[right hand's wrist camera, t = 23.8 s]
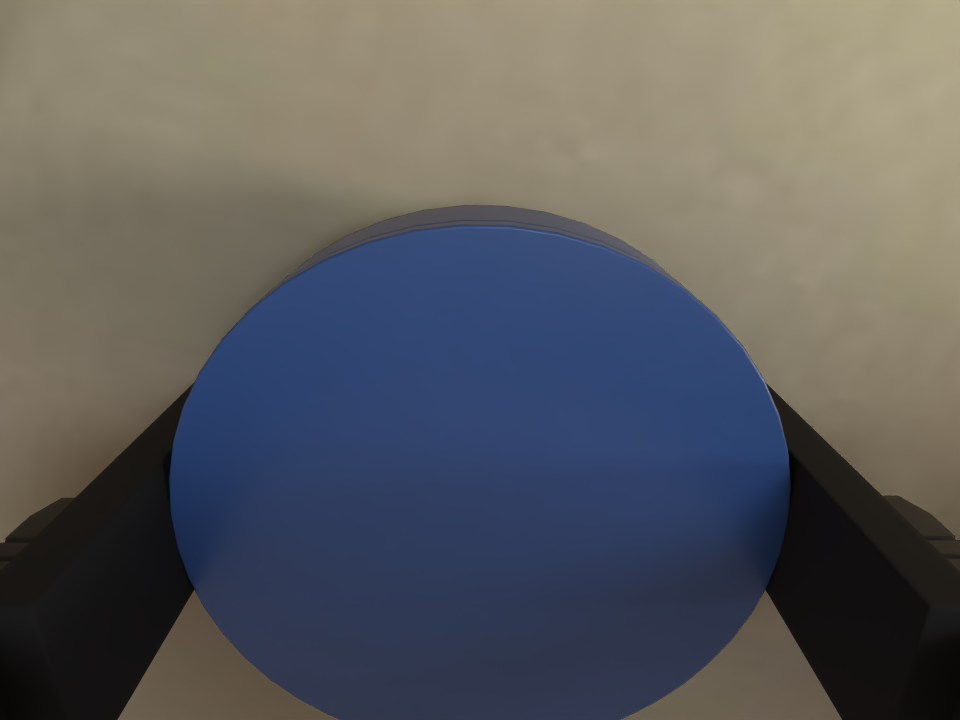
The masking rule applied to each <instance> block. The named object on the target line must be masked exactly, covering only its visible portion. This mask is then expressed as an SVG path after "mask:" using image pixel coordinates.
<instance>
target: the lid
mask: <svg viewBox="0 0 960 720" xmlns="http://www.w3.org/2000/svg"><path fill="white" fill-rule="evenodd" d="M169 489H170V512H171V517H172V522H173V526H174V531H175V536H176V540H177V545H178V549H179V553H180V555H181V558H182V561H183V564H184V567H185V569H186V572H187V575H188V578H189V580H190V581H191V583H192V585H193V587H194V589H195V591H196V593H197V595H198V597H199V599H200V600H201V602H202V604H203V606H204V608H205V609H206V611H207V612H208V613H209V615H210V616H211V618H212V619H213V620H214V622H215V623H216V625H217V626H218V627H219V629H220V630H221V632H222V633H223V634H224V635H225V636H226V638H227V639H228V640H229V641H230V642H231V643H232V644H233V645H234V646H235V647H236V648H237V649H238V651H239V652H240V653H241V654H242V655H243V656H244V657H245V658H246V659H247V660H248V661H249V662H251V663H252V664H253V665H254V666H255V667H256V668H258V669H259V670H260V671H261V672H262V673H263V674H265V675H266V676H267V677H268V678H269V679H270V680H272V681H273V682H275V683H276V684H278V685H279V686H281V687H282V688H283V689H285V690H286V691H288V692H289V693H291V694H292V695H294V696H295V697H297V698H298V699H300V700H302V701H304V702H306V703H307V704H309V705H311V706H313V707H315V708H317V709H319V710H321V711H322V712H324V713H326V714H328V715H330V716H333V717H335V718H338V719H340V720H620V719H623V718H625V717H627V716H629V715H631V714H633V713H635V712H637V711H639V710H641V709H643V708H645V707H647V706H649V705H651V704H653V703H655V702H656V701H658V700H659V699H661V698H663V697H664V696H666V695H667V694H669V693H670V692H672V691H673V690H675V689H677V688H678V687H680V686H681V685H683V684H684V683H685V682H686V681H688V680H689V679H690V678H691V677H693V676H694V675H695V674H696V673H698V672H699V671H700V670H701V669H702V668H704V667H705V666H706V665H707V664H709V663H710V662H711V661H712V659H713V658H714V657H715V656H716V655H717V654H718V653H719V652H720V651H721V650H722V649H723V648H724V647H725V646H726V645H727V644H728V643H729V642H730V641H731V640H732V639H733V637H734V636H735V635H736V633H737V632H738V631H739V629H740V628H741V627H742V626H743V624H744V623H745V622H746V620H747V619H748V618H749V616H750V615H751V614H752V612H753V610H754V608H755V607H756V605H757V603H758V601H759V600H760V598H761V596H762V594H763V593H764V591H765V589H766V587H767V586H768V584H769V581H770V579H771V576H772V574H773V571H774V568H775V566H776V563H777V561H778V558H779V556H780V552H781V548H782V543H783V539H784V534H785V530H786V525H787V521H788V515H789V504H790V491H791V481H790V469H789V456H788V448H787V444H786V440H785V436H784V432H783V428H782V424H781V420H780V416H779V413H778V410H777V408H776V406H775V403H774V401H773V399H772V396H771V394H770V392H769V389H768V387H767V385H766V382H765V380H764V378H763V377H762V375H761V374H760V372H759V370H758V369H757V367H756V366H755V364H754V362H753V361H752V359H751V358H750V356H749V354H748V353H747V351H746V350H745V348H744V347H743V345H742V344H741V343H740V342H739V341H738V340H737V338H736V337H735V336H734V335H733V334H732V333H731V332H730V330H729V329H728V328H727V327H726V326H725V325H724V324H723V322H722V321H721V320H720V319H719V318H718V317H717V316H716V315H715V314H714V313H713V312H712V311H711V310H710V309H709V308H707V307H706V306H705V305H704V304H703V303H702V302H701V301H700V300H698V299H697V298H696V297H695V296H694V295H693V294H692V293H691V292H689V291H688V290H687V289H686V288H685V287H684V286H683V285H682V284H680V283H679V282H678V281H677V280H676V279H675V278H673V277H672V276H671V275H670V274H669V273H667V272H666V271H665V270H664V269H663V268H662V267H660V266H659V265H658V264H657V263H656V262H654V261H653V260H652V259H651V258H649V257H647V256H646V255H644V254H643V253H641V252H639V251H638V250H636V249H635V248H633V247H631V246H630V245H628V244H627V243H625V242H623V241H622V240H620V239H618V238H616V237H614V236H611V235H609V234H607V233H605V232H602V231H600V230H598V229H596V228H594V227H591V226H589V225H587V224H585V223H582V222H578V221H575V220H571V219H568V218H564V217H561V216H557V215H554V214H551V213H547V212H542V211H536V210H529V209H522V208H516V207H509V206H477V205H462V206H454V207H446V208H437V209H429V210H422V211H418V212H414V213H410V214H407V215H403V216H399V217H395V218H391V219H387V220H384V221H381V222H379V223H376V224H374V225H372V226H369V227H367V228H364V229H362V230H359V231H357V232H355V233H352V234H350V235H347V236H346V237H344V238H342V239H341V240H339V241H337V242H335V243H334V244H332V245H330V246H329V247H327V248H325V249H323V250H322V251H320V252H318V253H317V254H315V255H313V256H312V257H311V258H310V259H308V260H307V261H306V262H305V263H303V264H302V265H301V266H300V267H298V268H297V269H296V270H295V271H293V272H292V273H291V274H290V275H288V276H287V277H286V278H285V279H283V280H282V281H281V282H280V283H279V284H278V285H277V286H276V287H274V288H273V289H272V290H271V291H270V292H269V293H268V294H267V295H265V296H264V297H263V298H262V299H261V300H260V301H259V302H258V303H256V304H255V305H254V306H253V307H252V308H251V309H250V310H249V311H248V312H247V313H246V314H245V315H244V316H243V317H242V318H241V319H240V320H239V322H238V323H237V324H236V325H235V326H234V327H233V328H232V329H231V330H230V331H229V332H228V333H227V334H226V335H225V337H224V338H223V339H222V340H221V341H220V343H219V344H218V346H217V347H216V349H215V350H214V352H213V353H212V355H211V356H210V358H209V359H208V360H207V362H206V363H205V365H204V366H203V368H202V369H201V371H200V372H199V374H198V377H197V379H196V381H195V383H194V385H193V387H192V389H191V391H190V394H189V396H188V398H187V400H186V402H185V404H184V406H183V410H182V413H181V417H180V420H179V424H178V427H177V431H176V434H175V438H174V441H173V448H172V457H171V465H170V474H169Z"/></svg>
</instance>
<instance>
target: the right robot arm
mask: <svg viewBox="0 0 960 720" xmlns="http://www.w3.org/2000/svg"><path fill="white" fill-rule="evenodd" d="M194 383H195V382H194ZM194 383H193V384H192V385H191V386H190V387H189V388H188V389H187V390H186V391H185V392H184V393H183V394H182V395H181V396H180V397H179V398H178V399H177V400H176V401H175V402H174V403H173V404H172V405H171V406H170V407H169V408H168V409H167V410H166V411H164V412H163V413H162V414H161V415H160V416H159V417H158V418H157V419H156V420H155V421H154V422H153V423H152V424H151V425H150V426H149V427H148V428H147V429H146V430H145V431H144V432H143V433H142V434H141V435H140V436H139V437H138V438H137V439H136V440H135V441H134V442H133V443H132V444H130V445H129V446H128V447H127V448H126V449H125V450H124V451H123V452H122V453H121V454H120V455H119V456H118V457H117V458H116V459H115V460H114V461H113V462H112V463H111V464H110V465H109V466H108V467H107V468H106V469H105V470H104V471H103V472H102V473H101V474H100V475H99V476H98V477H96V478H95V479H94V480H93V481H92V482H91V483H90V484H89V485H88V486H87V487H86V488H85V489H84V490H83V491H82V492H81V493H80V494H79V495H78V496H77V497H76V498H61V499H59V500H58V501H56V502H54V503H52V504H51V505H49V506H47V507H45V508H44V509H42V510H40V511H38V512H36V513H35V514H33V515H31V516H29V517H28V518H27V519H26V520H25V521H24V522H23V523H22V524H21V525H20V526H18V527H17V528H16V529H15V530H14V531H13V532H12V533H11V534H10V535H9V536H8V537H6V538H5V539H6V541H5V543H0V720H117V719H118V718H119V716H120V714H121V713H122V711H123V709H124V708H125V706H126V704H127V703H128V701H129V699H130V697H131V696H132V694H133V692H134V691H135V689H136V687H137V686H138V684H139V682H140V680H141V679H142V677H143V675H144V674H145V672H146V670H147V669H148V667H149V665H150V664H151V662H152V660H153V658H154V657H155V655H156V653H157V652H158V650H159V648H160V647H161V645H162V643H163V641H164V640H165V638H166V636H167V635H168V633H169V631H170V630H171V628H172V626H173V625H174V623H175V621H176V619H177V618H178V616H179V614H180V613H181V611H182V609H183V608H184V606H185V604H186V603H187V601H188V599H189V597H190V596H191V594H192V592H193V591H194V587H193V585H192V583H191V581H190V580H189V578H188V575H187V572H186V569H185V567H184V564H183V561H182V558H181V555H180V553H179V549H178V545H177V540H176V536H175V531H174V526H173V522H172V517H171V512H170V489H169V474H170V465H171V457H172V448H173V441H174V438H175V434H176V431H177V427H178V424H179V420H180V417H181V413H182V410H183V406H184V404H185V402H186V400H187V398H188V396H189V394H190V391H191V389H192V387H193V385H194ZM766 385H767V384H766ZM767 387H768V389H769V392H770V394H771V396H772V399H773V401H774V403H775V406H776V408H777V410H778V413H779V416H780V420H781V424H782V428H783V432H784V436H785V440H786V444H787V448H788V456H789V469H790V481H791V491H790V504H789V515H788V521H787V525H786V530H785V534H784V539H783V543H782V548H781V552H780V556H779V558H778V561H777V563H776V566H775V568H774V571H773V574H772V576H771V579H770V581H769V584H768V586H767V587H766V591H767V593H768V595H769V596H770V598H771V600H772V601H773V603H774V605H775V606H776V608H777V610H778V611H779V613H780V615H781V617H782V618H783V620H784V622H785V623H786V625H787V627H788V628H789V630H790V632H791V633H792V635H793V637H794V639H795V640H796V642H797V644H798V645H799V647H800V649H801V650H802V652H803V654H804V655H805V657H806V659H807V661H808V662H809V664H810V666H811V667H812V669H813V671H814V672H815V674H816V676H817V678H818V679H819V681H820V683H821V684H822V686H823V688H824V689H825V691H826V693H827V694H828V696H829V698H830V700H831V701H832V703H833V705H834V706H835V708H836V710H837V711H838V713H839V715H840V716H841V718H842V720H960V540H955V536H954V535H953V534H952V533H951V532H950V531H949V530H948V529H947V528H945V527H944V526H943V525H942V524H941V523H940V522H939V521H938V520H937V519H936V518H934V517H933V516H932V515H931V514H930V513H928V512H926V511H924V510H922V509H921V508H919V507H917V506H915V505H914V504H912V503H910V502H908V501H906V500H905V499H903V498H901V497H899V496H882V495H881V494H880V493H879V492H878V491H877V490H876V489H875V488H874V487H872V486H871V485H870V484H869V483H868V482H867V481H866V480H865V479H864V478H863V477H862V476H861V475H860V474H859V473H858V472H857V471H856V470H855V469H854V468H853V467H852V466H851V465H850V464H849V463H848V462H847V461H846V460H845V459H844V458H843V457H842V456H841V455H840V454H838V453H837V452H836V451H835V450H834V449H833V448H832V447H831V446H830V445H829V444H828V443H827V442H826V441H825V440H824V439H823V438H822V437H821V436H820V435H819V434H818V433H817V432H816V431H815V430H814V429H813V428H812V427H811V426H810V425H809V424H808V423H807V422H805V421H804V420H803V419H802V418H801V417H800V416H799V415H798V414H797V413H796V412H795V411H794V410H793V409H792V408H791V407H790V406H789V405H788V404H787V403H786V402H785V401H784V400H783V399H782V398H781V397H780V396H779V395H778V394H777V393H776V392H775V391H774V390H773V389H771V388H770V387H769V386H768V385H767Z"/></svg>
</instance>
